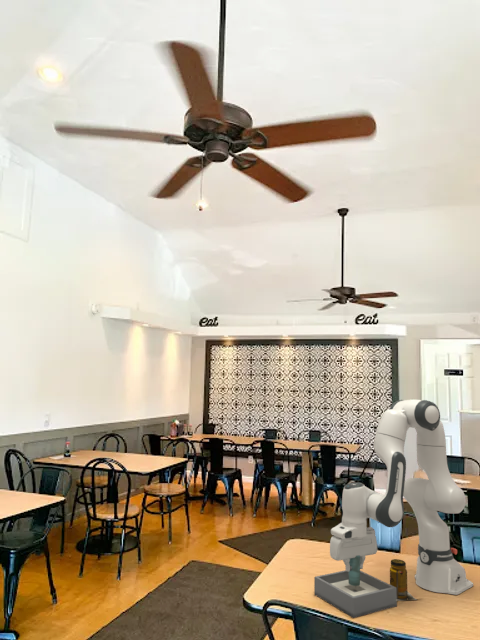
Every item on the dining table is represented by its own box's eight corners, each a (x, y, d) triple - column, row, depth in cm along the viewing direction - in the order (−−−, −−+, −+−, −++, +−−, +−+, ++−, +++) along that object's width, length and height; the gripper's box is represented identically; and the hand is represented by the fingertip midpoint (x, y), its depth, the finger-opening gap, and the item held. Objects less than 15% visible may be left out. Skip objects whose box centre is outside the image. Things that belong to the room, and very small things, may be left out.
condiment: (386, 592, 173) (385, 557, 175) (408, 592, 174) (407, 557, 176) (394, 601, 166) (393, 564, 168) (417, 600, 167) (416, 564, 168)
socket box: (355, 585, 179) (355, 568, 180) (396, 606, 162) (396, 587, 163) (314, 594, 169) (314, 576, 170) (353, 618, 152) (353, 598, 153)
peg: (354, 580, 171) (354, 551, 173) (362, 584, 168) (362, 554, 169) (346, 582, 169) (346, 552, 171) (354, 586, 166) (354, 556, 167)
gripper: (368, 524, 179) (368, 562, 177) (327, 529, 169) (326, 570, 167) (381, 528, 174) (381, 568, 172) (339, 534, 164) (338, 577, 162)
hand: (354, 569), depth 169 cm, fingers closed on peg, 4 cm apart
